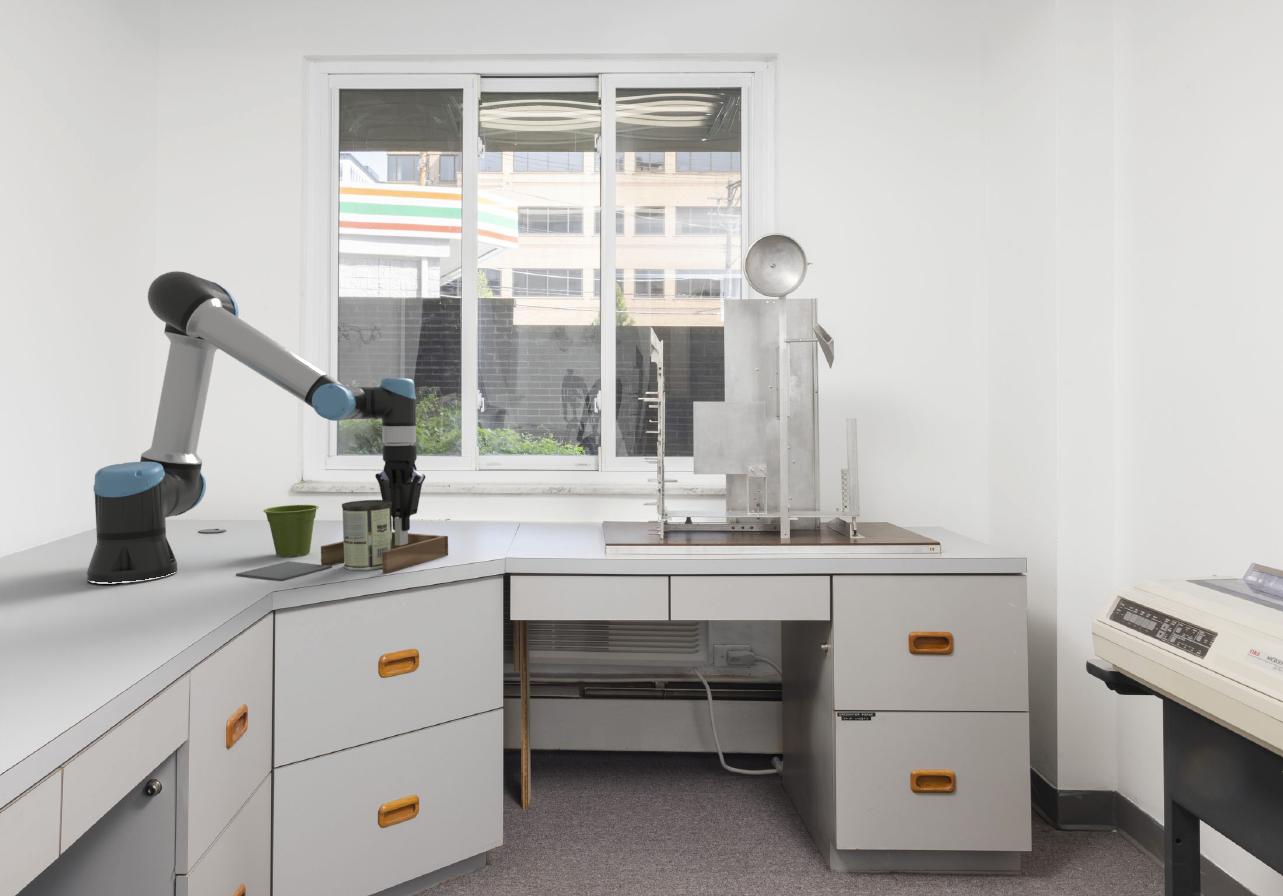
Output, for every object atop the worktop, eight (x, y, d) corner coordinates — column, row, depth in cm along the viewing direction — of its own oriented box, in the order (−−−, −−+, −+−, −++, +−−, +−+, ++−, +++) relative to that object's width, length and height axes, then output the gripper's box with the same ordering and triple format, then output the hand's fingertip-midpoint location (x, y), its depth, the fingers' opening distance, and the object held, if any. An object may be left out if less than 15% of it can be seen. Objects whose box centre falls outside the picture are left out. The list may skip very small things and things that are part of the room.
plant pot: (265, 552, 171) (263, 506, 171) (318, 548, 177) (317, 503, 176) (264, 561, 161) (262, 512, 160) (321, 556, 166) (320, 509, 166)
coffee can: (357, 560, 162) (356, 499, 161) (400, 561, 161) (399, 499, 160) (334, 570, 152) (332, 505, 151) (379, 571, 151) (378, 505, 150)
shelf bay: (321, 566, 156) (320, 546, 155) (387, 549, 175) (386, 531, 174) (387, 573, 149) (386, 552, 149) (448, 554, 168) (447, 536, 168)
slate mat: (236, 575, 147) (235, 573, 147) (288, 563, 159) (288, 561, 159) (281, 580, 142) (281, 578, 142) (332, 567, 154) (331, 565, 154)
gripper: (432, 444, 166) (434, 543, 167) (388, 443, 171) (390, 539, 172) (411, 445, 159) (413, 549, 160) (366, 444, 164) (368, 545, 165)
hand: (401, 544), depth 166 cm, fingers closed
